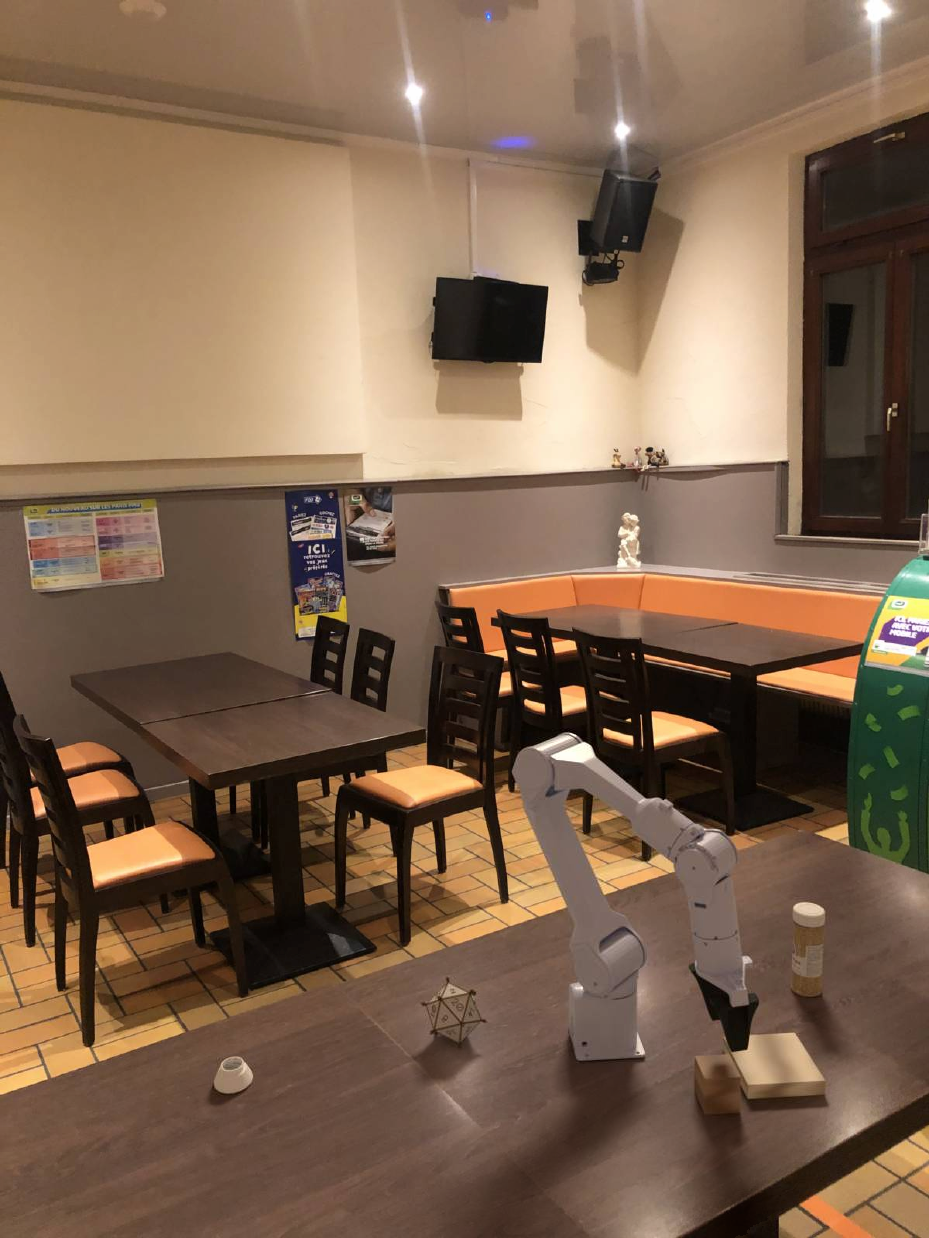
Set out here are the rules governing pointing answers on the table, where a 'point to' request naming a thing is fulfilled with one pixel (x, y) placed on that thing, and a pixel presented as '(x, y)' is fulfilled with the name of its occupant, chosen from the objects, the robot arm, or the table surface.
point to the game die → (453, 1012)
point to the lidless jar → (233, 1076)
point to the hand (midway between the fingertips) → (728, 1033)
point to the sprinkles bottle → (807, 949)
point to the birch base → (776, 1067)
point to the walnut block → (717, 1084)
